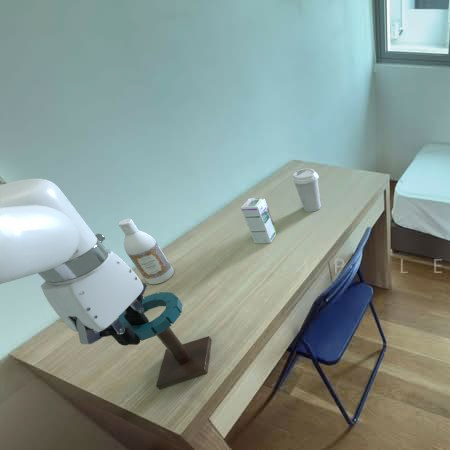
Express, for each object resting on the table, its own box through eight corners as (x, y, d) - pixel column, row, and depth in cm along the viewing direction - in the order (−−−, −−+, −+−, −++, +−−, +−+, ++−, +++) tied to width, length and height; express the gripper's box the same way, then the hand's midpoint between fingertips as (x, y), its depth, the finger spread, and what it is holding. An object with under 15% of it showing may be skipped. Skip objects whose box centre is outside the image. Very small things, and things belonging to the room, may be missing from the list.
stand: (207, 373, 66) (179, 334, 58) (159, 389, 64) (123, 351, 56) (211, 339, 73) (187, 301, 65) (168, 353, 71) (137, 314, 63)
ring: (180, 327, 58) (175, 320, 57) (115, 350, 54) (109, 343, 53) (183, 292, 65) (179, 285, 64) (126, 310, 61) (121, 303, 60)
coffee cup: (316, 199, 127) (308, 165, 119) (329, 206, 122) (322, 172, 113) (295, 208, 122) (286, 173, 113) (308, 216, 116) (299, 181, 108)
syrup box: (271, 243, 103) (258, 206, 95) (254, 243, 104) (239, 207, 95) (277, 233, 108) (265, 197, 100) (260, 233, 108) (247, 197, 100)
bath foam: (147, 288, 88) (107, 232, 77) (147, 275, 93) (109, 220, 81) (175, 278, 91) (140, 222, 80) (173, 265, 96) (140, 211, 85)
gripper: (95, 229, 53) (149, 301, 63) (-11, 302, 40) (79, 378, 50) (137, 228, 52) (184, 301, 63) (43, 302, 39) (123, 379, 50)
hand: (137, 335), depth 56 cm, fingers closed on ring, 2 cm apart
